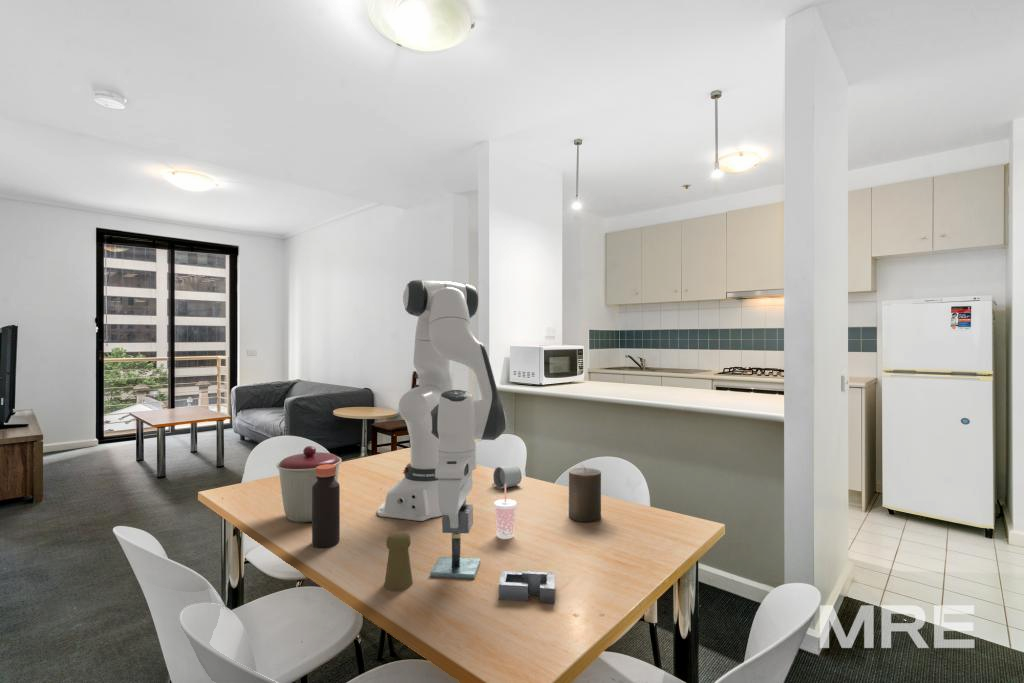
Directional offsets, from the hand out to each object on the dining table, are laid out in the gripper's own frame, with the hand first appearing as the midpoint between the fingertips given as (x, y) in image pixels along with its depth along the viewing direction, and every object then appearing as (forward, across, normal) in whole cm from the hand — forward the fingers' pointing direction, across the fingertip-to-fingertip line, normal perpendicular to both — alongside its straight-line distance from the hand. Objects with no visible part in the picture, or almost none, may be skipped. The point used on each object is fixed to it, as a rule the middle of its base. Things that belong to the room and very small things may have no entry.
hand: (458, 521), depth 116 cm
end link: (+2, 0, 0) cm, 2 cm away
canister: (+10, -30, -51) cm, 60 cm away
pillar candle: (+12, -38, +31) cm, 50 cm away
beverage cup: (+12, -21, +8) cm, 25 cm away
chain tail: (+12, +9, +16) cm, 22 cm away
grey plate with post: (+11, 0, -1) cm, 11 cm away
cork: (+11, +8, -12) cm, 18 cm away
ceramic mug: (+12, -67, +3) cm, 68 cm away
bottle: (+11, -11, -38) cm, 41 cm away
